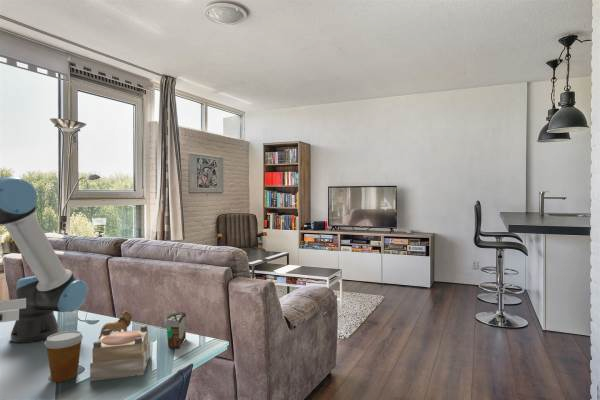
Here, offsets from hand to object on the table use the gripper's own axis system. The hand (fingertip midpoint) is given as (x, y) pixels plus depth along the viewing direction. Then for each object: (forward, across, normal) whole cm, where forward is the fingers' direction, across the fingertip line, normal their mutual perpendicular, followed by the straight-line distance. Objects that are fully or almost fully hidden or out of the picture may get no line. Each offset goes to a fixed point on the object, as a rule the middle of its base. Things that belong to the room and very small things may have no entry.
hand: (22, 308), depth 103 cm
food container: (+42, -10, -21) cm, 49 cm away
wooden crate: (+25, +2, -21) cm, 33 cm away
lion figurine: (+25, -28, -21) cm, 43 cm away
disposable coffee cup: (+10, 0, -22) cm, 24 cm away
